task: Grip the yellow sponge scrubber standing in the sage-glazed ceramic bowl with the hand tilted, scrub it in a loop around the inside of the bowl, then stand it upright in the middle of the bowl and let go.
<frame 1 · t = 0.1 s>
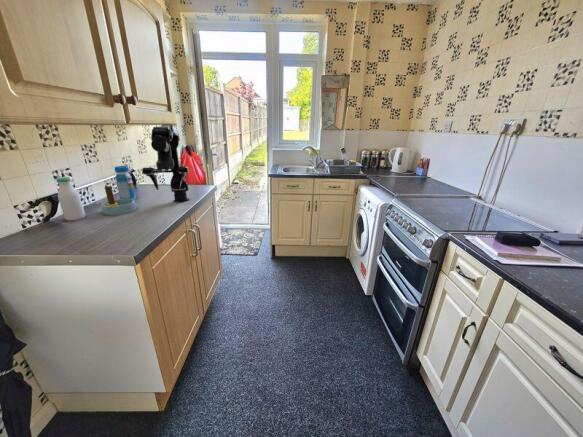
hand: (168, 189, 114), 15 cm above the countertop, tool pointing down, fingers open, 9 cm apart
beverage bottle: (128, 199, 152), on the countertop
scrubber: (114, 210, 129), point 1 cm above the countertop, touching bowl
milk bottle: (75, 218, 120), on the countertop
bowl: (120, 211, 130), on the countertop
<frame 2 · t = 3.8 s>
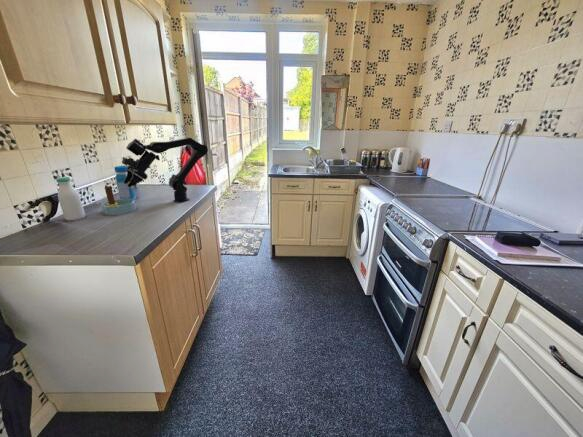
hand: (126, 185, 129), 14 cm above the countertop, tool tilted 45°, fingers open, 9 cm apart
nothing on the countertop moved.
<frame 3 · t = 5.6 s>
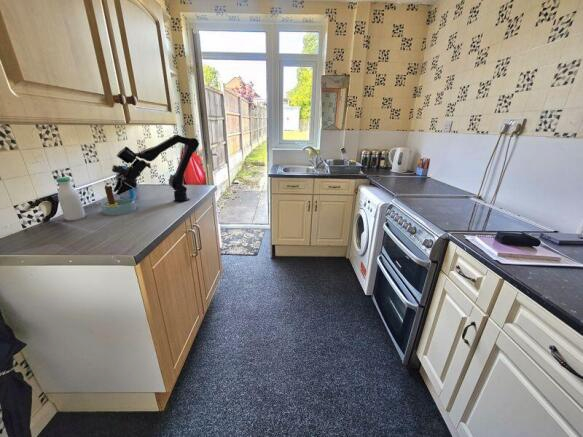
hand: (115, 192, 127), 10 cm above the countertop, tool tilted 45°, fingers open, 9 cm apart
nothing on the countertop moved.
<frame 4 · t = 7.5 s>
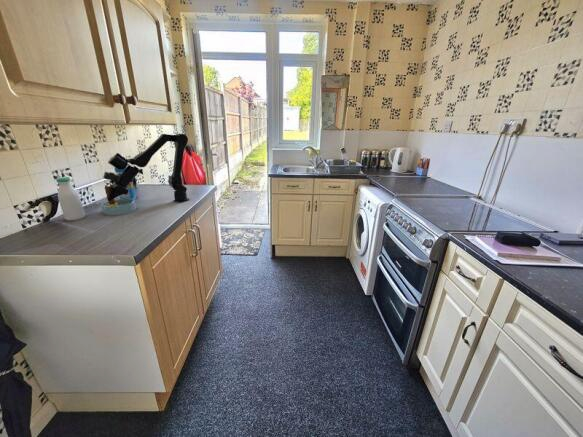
hand: (107, 199, 126), 7 cm above the countertop, tool tilted 45°, fingers closed on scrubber, 3 cm apart
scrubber: (114, 210, 129), point 1 cm above the countertop, touching bowl, gripper
everything else where it was.
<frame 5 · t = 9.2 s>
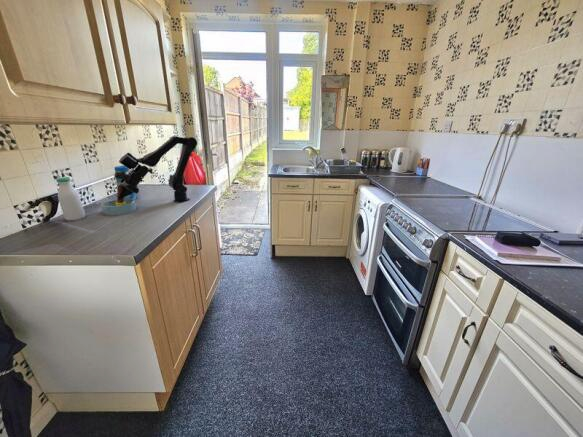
hand: (118, 198, 128), 7 cm above the countertop, tool tilted 45°, fingers closed on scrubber, 3 cm apart
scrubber: (120, 209, 130), point 1 cm above the countertop, tilted 11°, touching gripper
everything else where it was.
when the fingers open (7 cm above the countertop, at t = 11.0 s): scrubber stays where it is, point 1 cm above the countertop.
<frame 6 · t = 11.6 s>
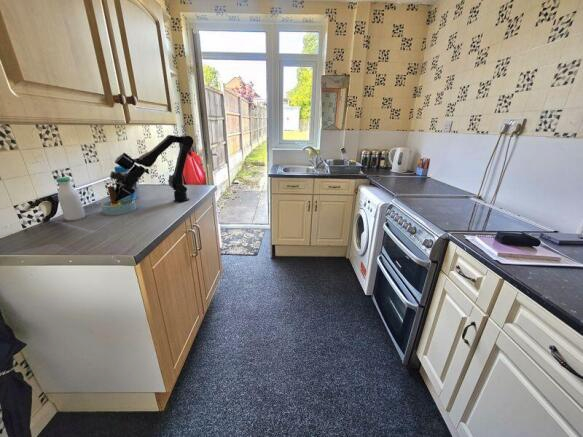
hand: (114, 198, 127), 7 cm above the countertop, tool tilted 45°, fingers open, 9 cm apart
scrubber: (117, 210, 129), point 1 cm above the countertop
everything else where it was.
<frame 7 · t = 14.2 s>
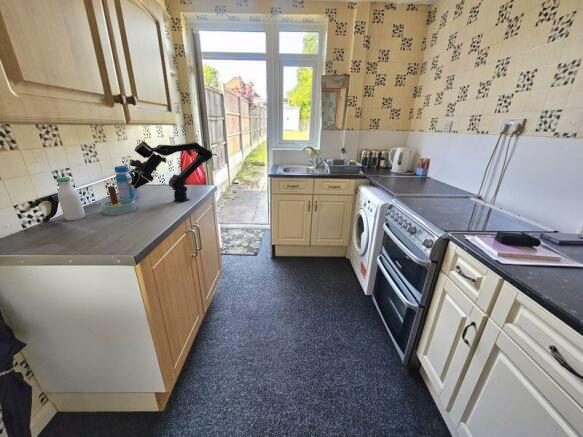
hand: (132, 186, 131), 13 cm above the countertop, tool tilted 45°, fingers open, 9 cm apart
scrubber: (117, 210, 129), point 1 cm above the countertop, touching bowl
everything else where it was.
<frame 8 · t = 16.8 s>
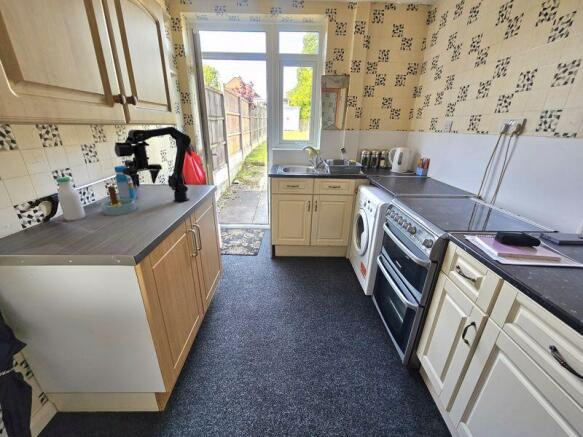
hand: (146, 185, 132), 13 cm above the countertop, tool pointing down, fingers open, 9 cm apart
nothing on the countertop moved.
at the end: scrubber 1.5 cm off-centre in the bowl, point 0.6 cm above the bowl's base; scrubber tilted 0°; the gripper is holding nothing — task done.
